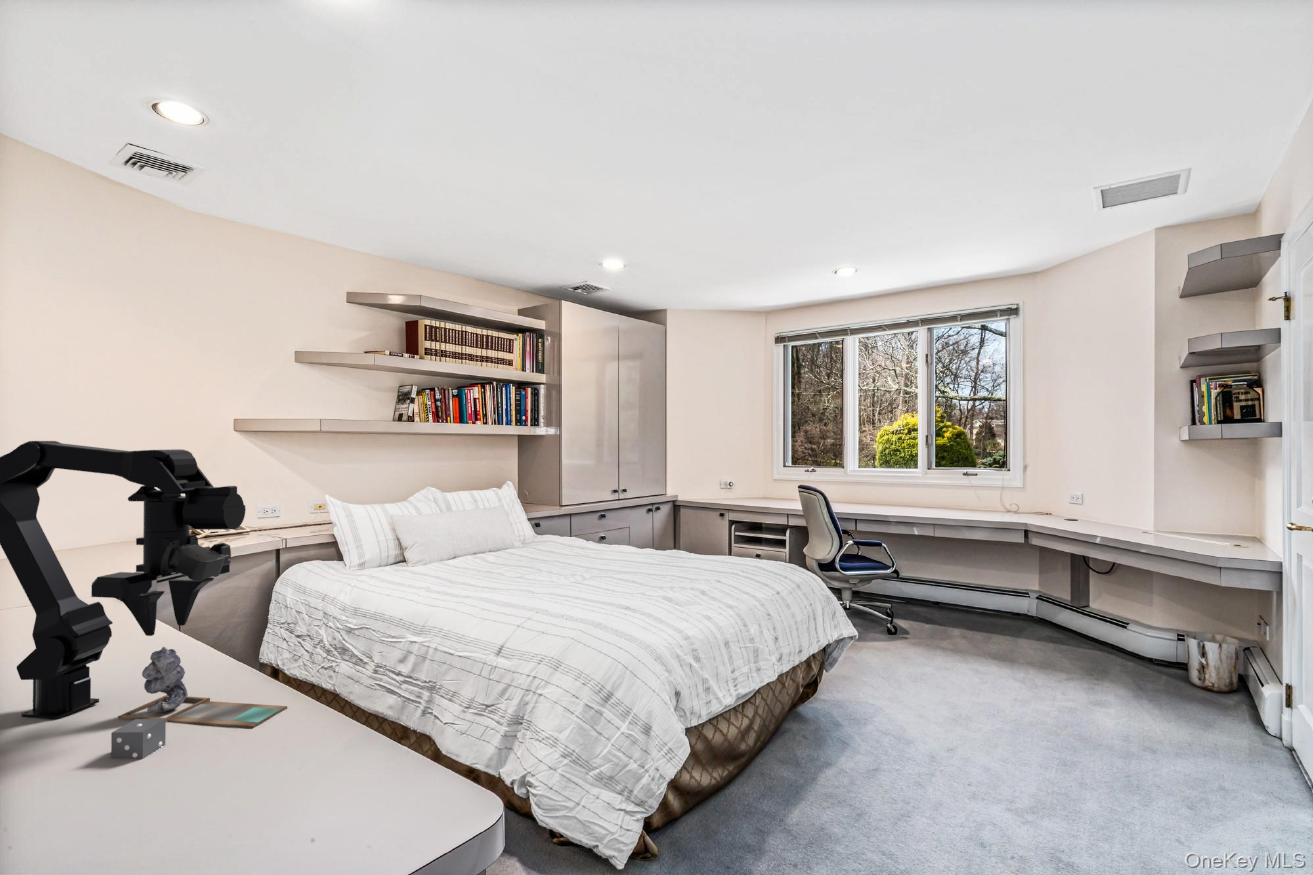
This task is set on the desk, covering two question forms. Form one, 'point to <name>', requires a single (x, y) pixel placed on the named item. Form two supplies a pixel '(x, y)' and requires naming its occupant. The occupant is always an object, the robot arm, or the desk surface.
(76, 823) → the desk surface
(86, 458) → the robot arm
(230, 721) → the board
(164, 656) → the seashell
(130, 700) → the desk surface
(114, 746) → the die
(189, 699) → the frame
